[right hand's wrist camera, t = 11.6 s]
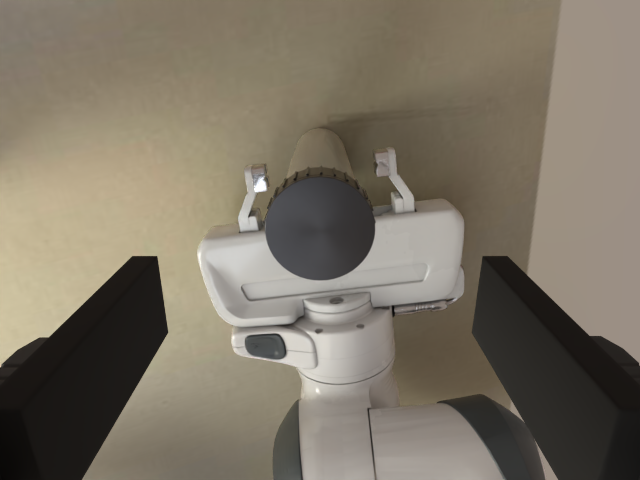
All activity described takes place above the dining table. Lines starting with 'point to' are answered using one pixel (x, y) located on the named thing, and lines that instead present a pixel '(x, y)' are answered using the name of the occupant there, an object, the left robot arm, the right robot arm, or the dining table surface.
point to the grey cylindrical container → (320, 152)
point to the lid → (320, 224)
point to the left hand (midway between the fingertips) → (318, 157)
